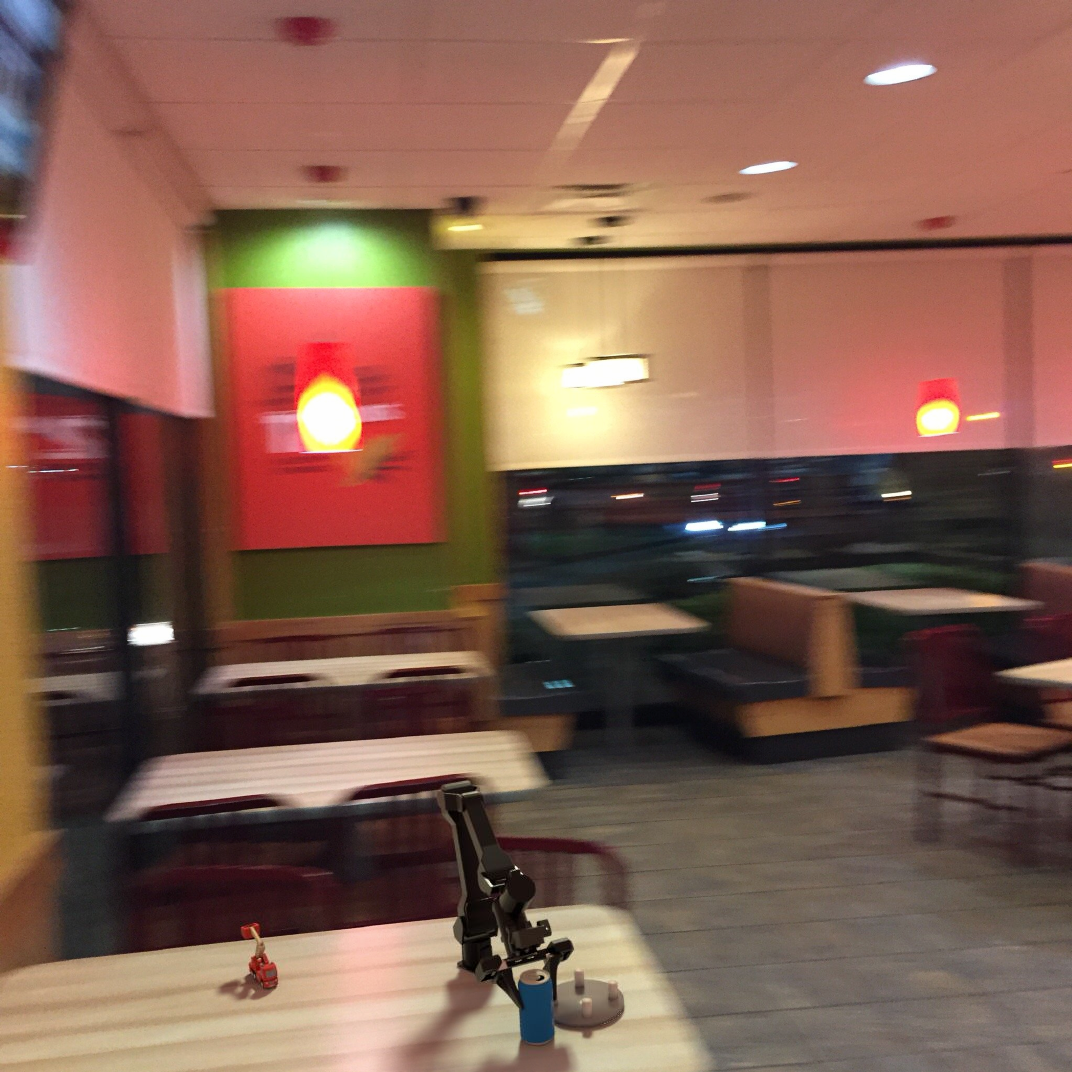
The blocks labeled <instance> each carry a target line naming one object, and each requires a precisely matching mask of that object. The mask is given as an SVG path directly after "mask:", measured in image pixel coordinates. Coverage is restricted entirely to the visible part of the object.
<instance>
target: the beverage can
mask: <svg viewBox="0 0 1072 1072" xmlns="http://www.w3.org/2000/svg"><path fill="white" fill-rule="evenodd" d="M542 969H543V968H531V969H527V970H524V971H522V972H521V973H520V975H519V980H518V981H517V989H518V992H519V994H520V997H521V1000H522V1004H523V1010H520V1009H519V1008H518V1016H519V1018H518V1019H519V1030H520V1031H519V1035H520V1038H521V1039H522V1040H523V1041H524V1042H525V1043H527V1044H528V1045H531V1046H541V1045H546V1044H547V1043H549V1042H550V1041H551V1040H552V1039H553V1038H554V1037H555V1034H556V1030H555V1022H554V1007H553V987H552V980H551V978H550V975H549V973H548V972H547V971H545V970H542Z"/></svg>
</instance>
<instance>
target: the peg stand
mask: <svg viewBox="0 0 1072 1072" xmlns="http://www.w3.org/2000/svg"><path fill="white" fill-rule="evenodd" d="M573 977H574V980H569V981H565V982H562V983H558V984H557V1000H556V1001H553V1007H554V1023H556V1024H558V1025H562V1026H565V1027H568V1028H569V1027H571V1028H576V1029H577V1028H580V1029H581V1028H582V1029H583V1028H585V1027H586V1028H593V1026H595V1027H600V1026H603V1025H605V1024H604V1023H606V1024H608V1023H607V1022H609V1021H611V1022H613V1021H614V1020H616V1019H617V1018H618V1017H619V1016H620V1015H621V1014H622V1013H623V1012H624V1010H625V1009H624V1008H625V999H624V998H625V997H624V994H623V993H622V990H620V988H619V985H618V984H619V982H618V981H617V980H616V979H610V980H608V981H607V982H605V981H601V980H596V979H587V978H586V979H585V969H584V968H582V967H576V968H574V969H573ZM620 1013H621V1014H620ZM618 1015H619V1016H618ZM615 1018H616V1019H615ZM613 1019H614V1020H613ZM612 1020H613V1021H612ZM609 1023H610V1022H609ZM602 1024H603V1025H602ZM599 1025H600V1026H599Z"/></svg>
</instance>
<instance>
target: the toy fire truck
mask: <svg viewBox="0 0 1072 1072" xmlns="http://www.w3.org/2000/svg"><path fill="white" fill-rule="evenodd" d="M240 933H241V936H242V937H243V939H244V940H249V939H251V938H254V939H255V941H256V946H255V952H254V955H253V956H250V962H248V971H249V973H250V974H251V975H250V976H251V977H252V976H253V979H254V978H255V979H256V981H257V982H258V983H259V984H260V985H261V988H262V987H264V988H263V989H268V988H273V987H275V986H277V985H278V984H279V978H278V974H279V973H278V968H277V965H276V963H275V962H273V961H271V962H270V960H269V958H268V956H267V954H266V953H265V950H266V945H265V941H264V940H262V939H261V937H260V925H259V924H258V923H255V922H254V923H251V924H248V925H244V926H241V927H240ZM255 979H254V980H255Z"/></svg>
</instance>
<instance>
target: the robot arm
mask: <svg viewBox="0 0 1072 1072" xmlns="http://www.w3.org/2000/svg"><path fill="white" fill-rule="evenodd" d="M436 801H437V805H438V806H439V808H440V810H441V815H442V817H444V818H445V820H446V821H447V822H448V823H449V825H450V826H451V831H452V837H453V842H454V843H453V844H454V851H455V856H456V862H457V868H458V873H459V879H460V886H461V892H462V893H461V898H460V900H459V903H458V905H457V918H456V919H455V921H454V924H453V925H452V931H453V937H454V938H455V939H456V942H458V943H459V944H460V945H461V960H460V961H458V962H456V966H457V967H459V968H462V969H464V970H466V971H469V972H471V973H473V974H475V978H476V981H477V983H478V984H481V983H486V982H489V981H490V983H491V985H497V986H498V987H499V988H500V989H501V990H502V991H503V992H504V993H505V994H506V995H507V997H508V998H510V1000H511V1001H512V1002H513V1004H514V1005H515V1006H516V1007H517V1008H518V1010H519V1009H520V1010H523V1004H522V1000H521V997H520V994H519V992H518V985H516V982H515V979H514V973H513V968H517V967H520V966H525V965H528V964H532V963H537V962H539V961H543V965H544V966H543V967H542V968H541V969H542V970H545V971H547V972H548V973H549V975H550V978H551V980H552V987H553V1001H556V1000H557V985H558V983H557V981H558V976H557V975H558V968H559V965H560V964H561V963H563V962H565V961H567V960H568V959H569V958H570V956H571V955H572V954H573V952H574V950H575V948H574V944H573V941H572V940H571V939H570V938H568V936H565V937H560V938H557V939H554V940H550V941H549V942H548V944H547V946H546V947H545V948H541V945H544V944H545V943H546V941H545V938H548V937H551V936H552V927H551V925H550V921H549V920H548V918H545V919H539V920H536V926H533V924H532V922H531V920H528V917H527V914H526V910H527V909H528V907H529V905H530V904H531V902H532V901H533V899H534V897H535V895H536V893H537V887H536V883H535V882H534V881H533V880H532V879H531V877H529V876H527V875H526V874H524V873H523V872H521V869H520V868H518V867H517V866H516V865H515V864H514V861H513V860H512V858H511V855H510V854H509V853H508V852H506V851H504V850H503V849H502V848H501V846H500V844H499V842H498V839H497V836H496V834H495V832H494V829H493V827H492V823H491V821H490V819H489V816H488V813H487V810H486V808H485V800H484V795H483V793H482V792H481V787H480V786H478V785H476V784H472V782H471V781H470V780H463V781H457V782H451V783H447V784H446V783H445V784H441V786H440V790H438V791H437V792H436ZM496 894H499V895H498V896H496V897H495V898H494V899H493V897H492V896H491V895H496ZM499 933H500V935H501V936H500V938H499V939H500V942H501V944H502V943H503V945H504V949H505V952H506V955H507V957H506V958H502V957H501V956H500V954H499V953H497V954H493V946H492V938H494V937H496V938H497V937H499ZM538 948H540V949H538Z"/></svg>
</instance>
